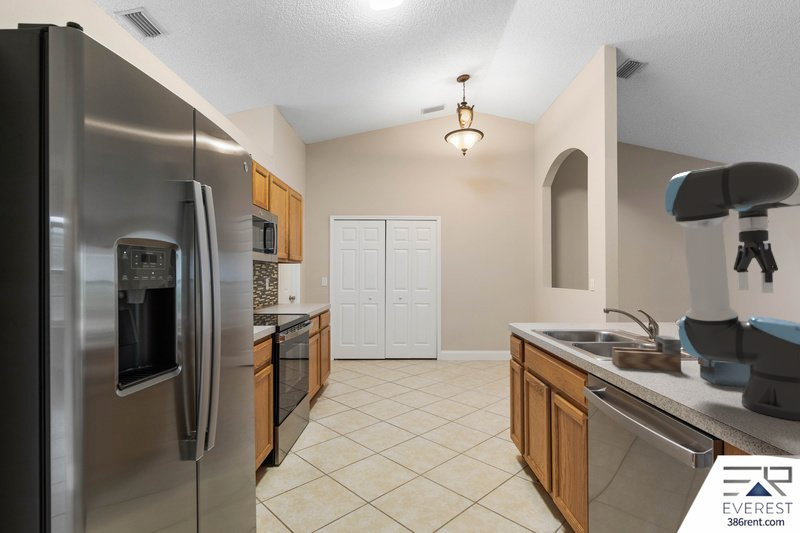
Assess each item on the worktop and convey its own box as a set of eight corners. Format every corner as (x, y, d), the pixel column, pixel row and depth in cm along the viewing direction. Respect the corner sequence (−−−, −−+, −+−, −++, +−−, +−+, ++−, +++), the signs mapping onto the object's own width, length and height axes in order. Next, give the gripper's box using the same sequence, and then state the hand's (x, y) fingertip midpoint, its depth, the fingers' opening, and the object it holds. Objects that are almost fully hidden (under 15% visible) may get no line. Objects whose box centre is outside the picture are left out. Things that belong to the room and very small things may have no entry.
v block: (753, 387, 116) (753, 363, 116) (714, 384, 118) (714, 361, 118) (735, 378, 125) (735, 357, 125) (700, 376, 128) (699, 355, 128)
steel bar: (764, 369, 117) (764, 358, 117) (703, 366, 122) (703, 355, 122) (756, 366, 121) (756, 355, 121) (698, 363, 125) (697, 352, 125)
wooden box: (670, 365, 143) (670, 335, 144) (681, 371, 135) (680, 340, 135) (612, 361, 149) (611, 333, 149) (618, 367, 140) (618, 337, 141)
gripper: (792, 226, 118) (793, 293, 118) (745, 232, 142) (746, 289, 142) (762, 227, 120) (764, 293, 120) (721, 233, 144) (722, 289, 144)
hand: (754, 291), depth 131 cm, fingers open, 13 cm apart
